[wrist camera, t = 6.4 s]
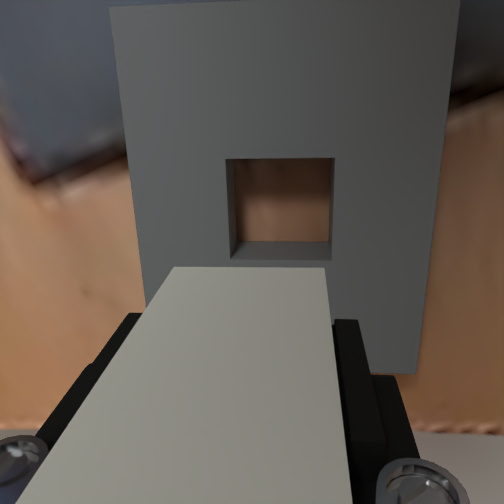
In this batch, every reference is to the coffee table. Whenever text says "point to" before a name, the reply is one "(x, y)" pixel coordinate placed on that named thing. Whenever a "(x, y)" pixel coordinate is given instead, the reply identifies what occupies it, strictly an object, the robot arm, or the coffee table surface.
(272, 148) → the socket plate
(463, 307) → the coffee table surface
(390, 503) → the robot arm
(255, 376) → the plug
